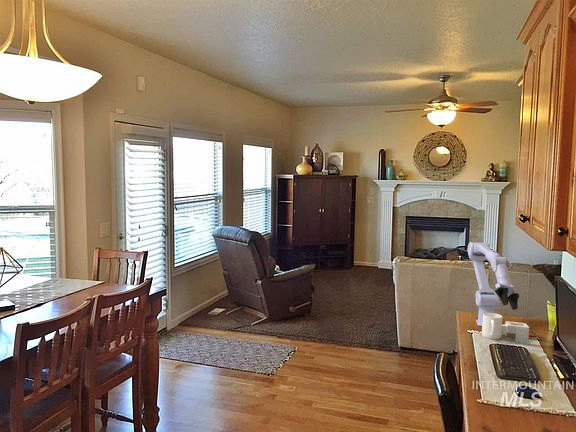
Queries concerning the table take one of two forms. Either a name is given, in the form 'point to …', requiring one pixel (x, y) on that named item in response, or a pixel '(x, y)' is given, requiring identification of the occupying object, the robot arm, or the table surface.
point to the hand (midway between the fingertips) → (510, 306)
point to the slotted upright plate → (512, 328)
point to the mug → (492, 326)
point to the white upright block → (521, 336)
